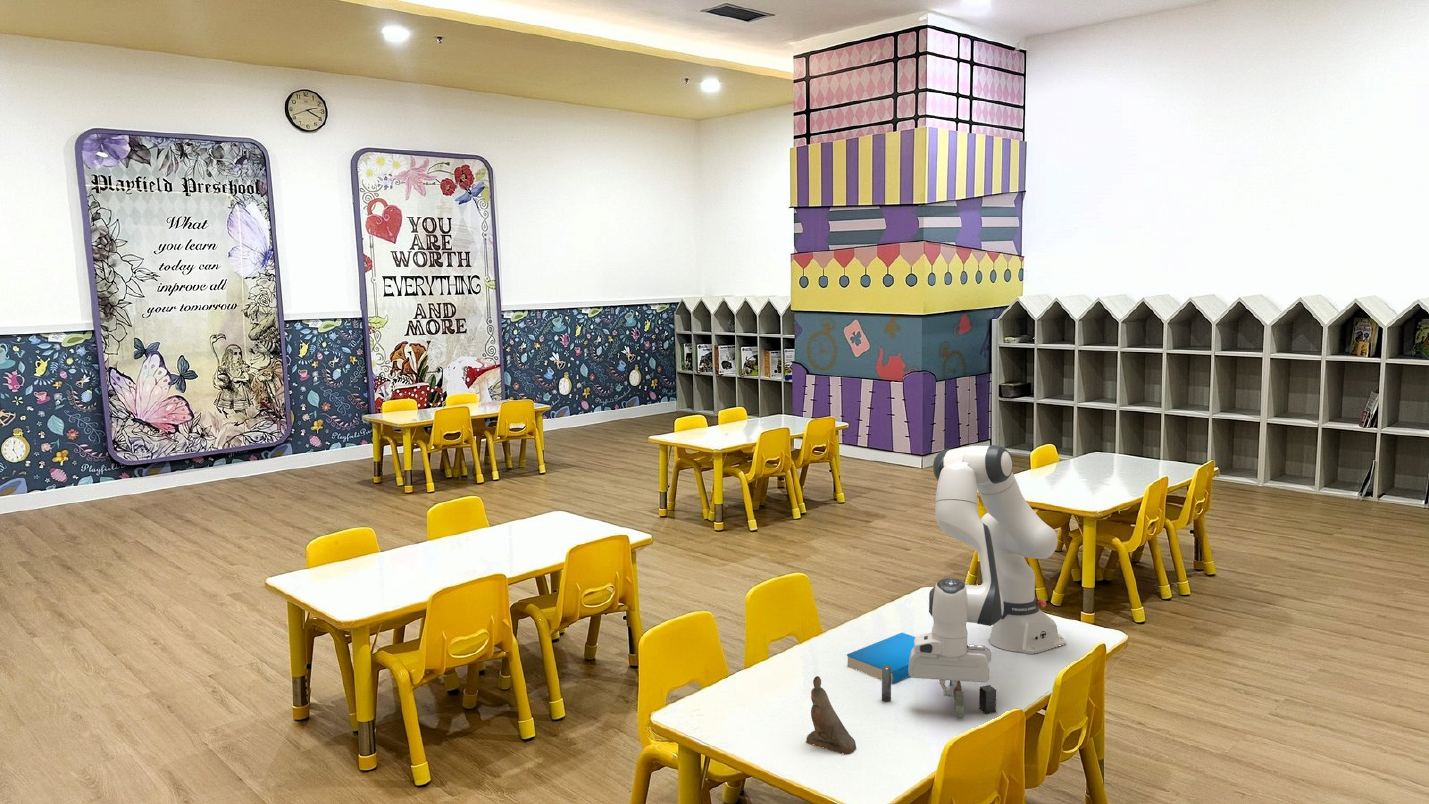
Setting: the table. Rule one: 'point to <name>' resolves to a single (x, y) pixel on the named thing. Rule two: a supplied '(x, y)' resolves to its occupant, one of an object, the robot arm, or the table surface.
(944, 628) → the robot arm
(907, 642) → the book
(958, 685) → the gate
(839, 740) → the worn brown figurine
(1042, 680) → the table surface
